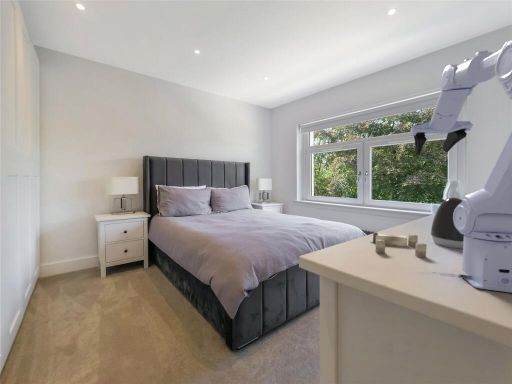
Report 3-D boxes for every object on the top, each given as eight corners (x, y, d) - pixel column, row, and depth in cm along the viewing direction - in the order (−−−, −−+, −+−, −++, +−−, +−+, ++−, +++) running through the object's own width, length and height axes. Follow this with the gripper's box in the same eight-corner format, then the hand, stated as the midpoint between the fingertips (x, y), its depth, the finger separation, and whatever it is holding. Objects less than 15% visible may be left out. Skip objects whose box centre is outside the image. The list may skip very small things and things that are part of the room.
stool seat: (433, 265, 55) (434, 247, 55) (372, 258, 60) (373, 242, 59) (415, 248, 68) (416, 234, 68) (367, 244, 73) (367, 230, 73)
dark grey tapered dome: (456, 244, 73) (458, 196, 72) (485, 254, 63) (488, 199, 62) (422, 243, 74) (424, 196, 73) (445, 253, 64) (447, 198, 63)
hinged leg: (373, 243, 69) (373, 233, 69) (372, 241, 71) (372, 232, 71) (406, 246, 66) (407, 235, 66) (405, 244, 68) (405, 234, 68)
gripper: (471, 101, 64) (452, 142, 74) (412, 107, 68) (401, 146, 77) (484, 113, 59) (462, 155, 69) (420, 119, 63) (407, 159, 72)
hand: (430, 151), depth 73 cm, fingers open, 7 cm apart
